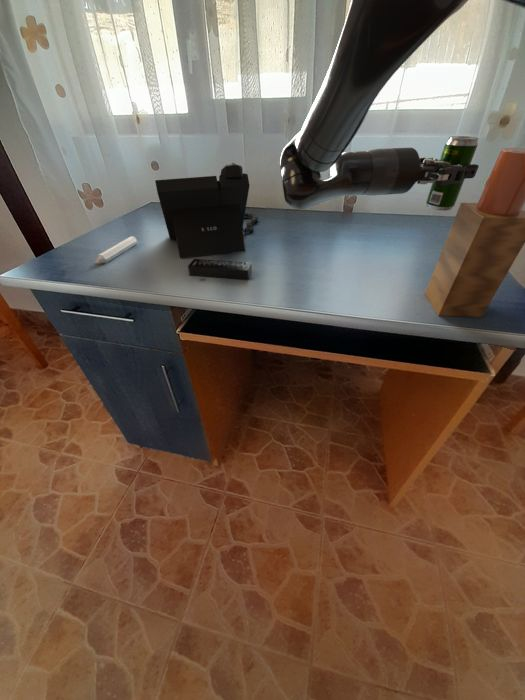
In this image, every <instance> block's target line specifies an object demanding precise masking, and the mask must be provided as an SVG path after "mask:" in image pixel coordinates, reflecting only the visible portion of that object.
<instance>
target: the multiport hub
mask: <svg viewBox="0 0 525 700" xmlns="http://www.w3.org/2000/svg"><path fill="white" fill-rule="evenodd" d="M187 269H188V275H189V276H191V277H204V278H218V279H231V280H243V281H247V280H250V277H251V275H252V272H253V263H252V262H250V261H249V262H248V261H235V260H219V259H205V258H193V259H192V260H191V261H190V262H189V264H188V265H187Z"/></svg>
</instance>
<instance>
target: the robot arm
mask: <svg viewBox="0 0 525 700" xmlns="http://www.w3.org/2000/svg"><path fill="white" fill-rule="evenodd" d="M502 1H503V2H505V3H508V4H511V5H514V6H516V7H519V8H522V9H525V0H502ZM468 2H469V0H351V2H350V5H349V9H348V12H347V16H346V19H345V22H344V25H343V27H342V31H341V34H340V37H339V40H338V43H337V46H336V49H335V52H334V55H333V57H332V60H331V63H330V66H329V68H328V70H327V73H326V76H325V77H324V80H323V82H322V85H321V87H320V89H319V91H318V93H317V95H316V98H315V100H314V102H313V103H312V105H311V107H310V110H309V112H308V114H307V117H306V119H305V120H304V123H303V125H302V127H301V130H300V131H299V132H298V133H297V134H295V136H294V137H293V138H292V139H291V140H290V141H289V142H288V143H287V144H286V145H285V147H283V149H282V152H281V155H280V160H279V170H280V176H281V184H282V192H283V198H284V201H285V203H286V204H287V205H288V206H289V207H290V208H292V209H294V210H306V209H309V208H312V207H314V206H317V205H319V204H321V203H324V202H327V201H330V200H333V199H337V198H340V197H346V196H347V197H348V196H386V195H387V196H388V195H402V194H406V193H408V192H409V191H410V190H411V189H413V187H414V186H415V184H417V185H427V184H432V183H435V184H434V185H436V186H440V185H448V184H456V183H461V181H462V179H464V180H466V179H473V178H474V177H475V176H476V174H477V173H478V169H479V167H480V166H479V164H475V163H472V164H468V165H461V164H458V165H453V164H450V163H449V162H447V161H440V158H439V159H438V158H437V157H431V156H424V157H423V156H420V155H419V152H418V151H417V150H416V149H415V148H413V147H388V148H387V147H386V148H375V149H370V150H358V151H355V150H354V151H345V150H346V149H347V148H348V146H349V145H350V144H351V142H352V141H353V139H354V138H355V136H356V135H357V133H358V132H359V130H360V129H361V127H362V125H363V123H364V122H365V120H366V118H367V115H368V113H369V111H370V109H371V107H372V105H373V103H374V102H375V100H376V99H377V97H378V95H379V94H380V92H381V91H382V89H383V88H384V87H385V85H386V84H387V83H388V82H389V81H390V80H391V78H392V77H393V76H394V74H395V73H396V72H397V71H399V69H400V68H401V67H402V66H403V65H404V63H406V62H407V60H408V59H409V58H410V57H411V56H412V55H413V54H414V53H415V52H416V51H417V50H418V49H419V48H420V47H421V46H422V45H423V44H424V43H425V42H426V41H427V40H428V39H429V38H430V37H431V36H432V35H433V33H434V32H436V31H437V30H438V28H439V27H440V26H442V25H443V24H444V23H445V22H446V21H447V20H449V19H450V18H451V17H452V16H454V15H455V14H457V13H458V12H459V11H460V10H461V9H462V8H463V7H464V6H465V5H466V4H467V3H468ZM440 165H443V168H442V169H440ZM326 171H328V174H327V175H328V176H327V179H323V177H322V173H323V172H326Z"/></svg>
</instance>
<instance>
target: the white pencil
mask: <svg viewBox="0 0 525 700" xmlns="http://www.w3.org/2000/svg"><path fill="white" fill-rule="evenodd" d="M137 244H138V239H137V238H136V237H135V236H131V235H130V236H129V237H126V238H125V239H124V240H122V241H119V242H118V243H116V244H115V245H113V246H112V247H109V248H108V249H106V250H104V251H102V252H100V253H99V254H98V256H97V259H96V261H95V262H94V265H98V264H107V263H108V262H110V261H112V260H114V259H115V258H116V257H118V256H120V255H121V254H123V253H125V252H126V251H128V250H130V249H132V248H133V247H134V246H136V245H137Z"/></svg>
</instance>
